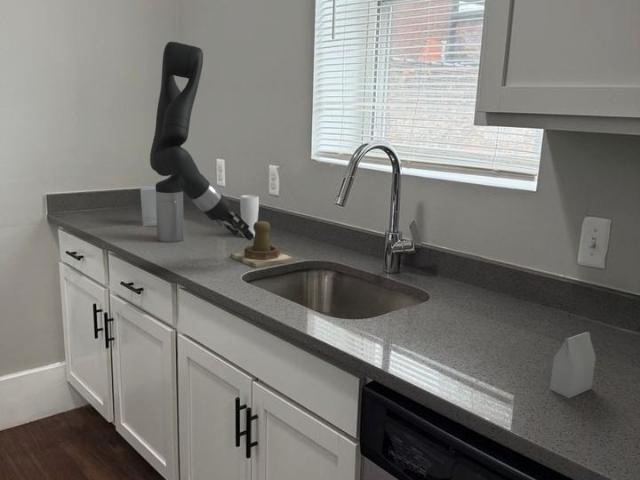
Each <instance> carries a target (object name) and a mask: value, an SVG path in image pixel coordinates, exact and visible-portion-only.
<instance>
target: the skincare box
mask: <svg viewBox="0 0 640 480" xmlns="http://www.w3.org/2000/svg"><path fill="white" fill-rule="evenodd" d="M140 204H141V218H142V221H141V222H142V226H143V227H155V226H156V227H157V220H156V186H154V187H153V186H151V187H149V186H148V187H141V188H140Z"/></svg>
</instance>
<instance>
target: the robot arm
mask: <svg viewBox="0 0 640 480" xmlns="http://www.w3.org/2000/svg"><path fill="white" fill-rule="evenodd" d="M203 63H204V52H203V49H202V48H200V47H198V46H194V45H190V44H186V43H181V42H177V41H169V42H167V43H166V45H165V47H164V49H163V54H162V66H161V67H162V68H161V81H160V82H161V84H160V92H159V98H158V103H157V110H156V116H155V117H156V118H155V129H154V135H153V139H152V145H151V149H150V154H149V164H150V167H151V169H152V170H153V171H155V172H156V173H157V174H158V175H159V176H161V177H167V178H166V179H162V180H160V181H158V182H156V183H155V187H156V220H157V226H156V240H157V241H158V242H162V243H163V242H165V243H175V242H181V241H183V240H184V237H185V235H184V229H185V228H184V227H185V224H184V193H185V195H186V196H187V197H189V199H191V200H192V202H193V203H194V205H195V206H196V207H197V208H198V209H199V210H200V211H201V212H202V213H203V214H204V215H205V216H206V217H207V218H208V219H209V220H211V221H216V222H217V223H218V224H219V226H223V227H224V228H225V229H227V230H228V231H229V233H231V235H233V236H237V235H238V234H239V233H240V234H243V235H244V236H245V237H244V238H246V240H248V241H251V240H253V239H254V235H253V233H252V232H251V231H250V230H249V229H248V228H249V225H247V224H246V223H245V222H244V221H243V220H242V219H241V216H239V214H237V213H234V212H233V211H230V205H231V204H230V202H229V200H228V199H227V198H226V197H225V196H224V195H223V194H222V192H220V191H219V190H218V189H217V188H216V187H215V185H213V184H212V183H211V182H210V181H209V180H208V179H207V178H205V175H203V174H202V173H201V172H200V170H199V169H198V165H197V164H196V162H195V160H194V158H193V157H192V155H191V154H190V152H189V151H188V150H187V149H185V148H184V147H182V145H184V144H185V143H186V142H187V140H188V138H189V130H190V125H191V124H190V123H191V115H192V110H193V106H194V103H195V99H196V95H197V92H198V89H199V83H200V80H201V75H202V69H203V66H204V65H203ZM175 77H178V78H179V77H180V78H185V79H188V80H187V83H186V84H185V87H184V88H183V89H182V91H181V90H180V88H179V87H178V85H177V82H176V80H175ZM242 226H243V227H242Z"/></svg>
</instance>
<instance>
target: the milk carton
mask: <svg viewBox="0 0 640 480" xmlns="http://www.w3.org/2000/svg"><path fill="white" fill-rule="evenodd" d="M590 333H591V332H590V331H585V332H582V333H579V334H576V335H574V336H570V337H567V338H565V339H564V341H563V344H562V345H561V347H560V349H559V350H558V351H557V353H556V354H555V356H554V357H553V363H552V371H551V377H550V385H549V390H550V391H552V392H555V393H557V394H559V395H561V396H562V397H563V396H564V397H566V398H567V399H570V398H573V397H575V396H577V395H579V394H581V393H584V392H587V391H590V390H591V389H592V385H593V379H594V373H595V372H594V371H595V366H596V358H597V357H596V354H595V349H594V346H593V343H592V340H591V334H590Z"/></svg>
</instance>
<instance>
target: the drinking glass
mask: <svg viewBox="0 0 640 480" xmlns="http://www.w3.org/2000/svg"><path fill="white" fill-rule="evenodd" d="M239 203H240V205H239V209H240V218H241V219H242V220H243V221H244V222H245V223H246V224H247V225H249V228H248V229H249V230H250V231H251V232H252V233H253V235H254V237H255V231H254V229H253V226H254V223H255V222H258V220H259V209H260V197H259V196H258V195H252V194H246V195H244V194H243V195H241V196H240V202H239ZM242 227H243V226H241V228H242ZM241 234H242V233H241ZM242 237H243V238H246V237H245V236H244V235H243V234H242ZM254 237H253V238H254Z"/></svg>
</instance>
